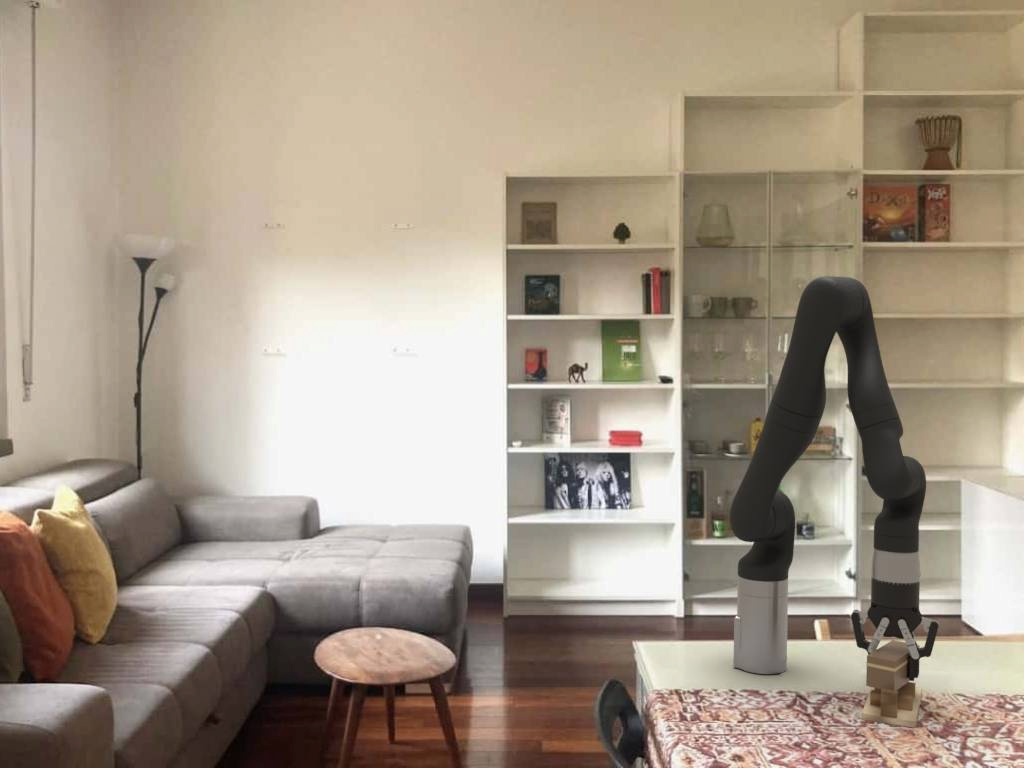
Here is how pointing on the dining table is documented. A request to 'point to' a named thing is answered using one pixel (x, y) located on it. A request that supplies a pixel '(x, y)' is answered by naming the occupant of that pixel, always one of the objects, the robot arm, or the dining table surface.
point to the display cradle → (893, 705)
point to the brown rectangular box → (889, 666)
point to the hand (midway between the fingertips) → (893, 676)
